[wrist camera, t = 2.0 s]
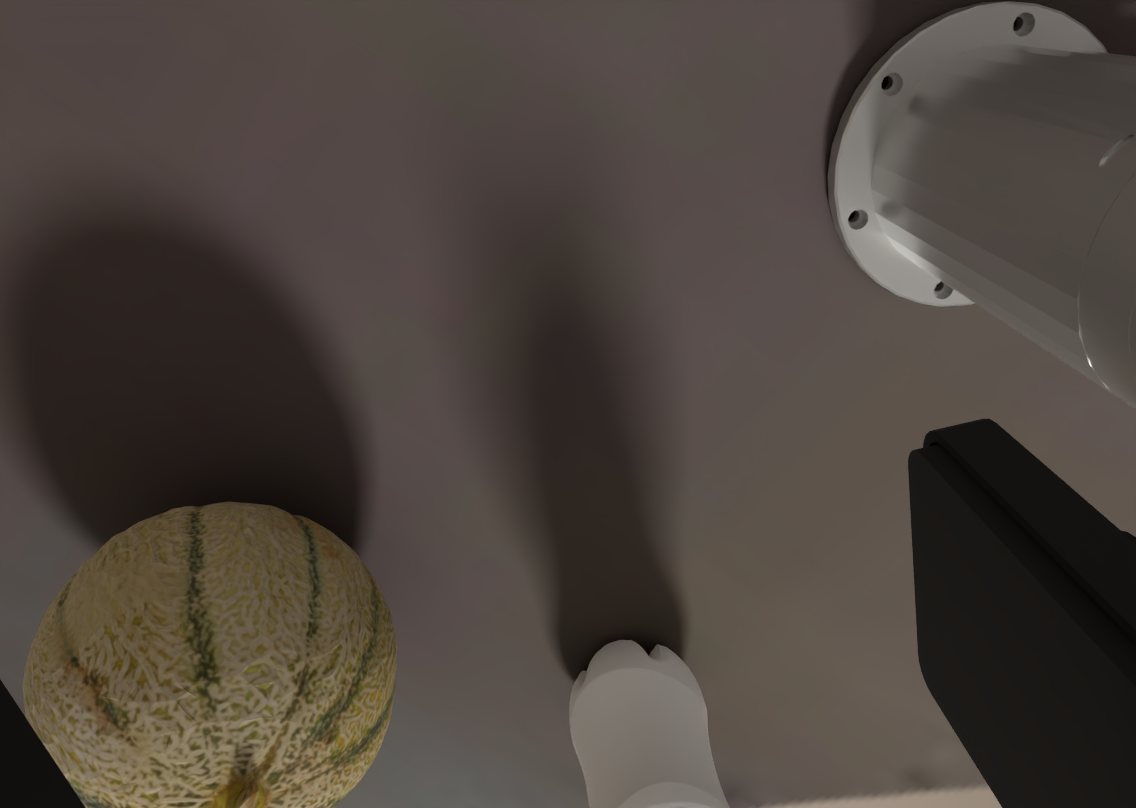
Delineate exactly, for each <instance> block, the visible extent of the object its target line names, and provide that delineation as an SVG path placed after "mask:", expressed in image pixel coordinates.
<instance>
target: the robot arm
mask: <svg viewBox="0 0 1136 808" xmlns="http://www.w3.org/2000/svg"><path fill="white" fill-rule="evenodd" d="M1016 19H1017V25H1016V27H1015V28H1014V29H1013V24H1014V21H1015V20H1016ZM886 76H887V77H888V84H887V86H886V87H885V88H883V89H882V88H881V84H882V81H883V79H884V77H886ZM828 196H829V206H830V210H831V214H832V218H833V222H834V226H835V229H836V231H837V233H838V235H839V237H840V240H841V242H842V244H843V246H844V248H845V250H846V251H847V253H848V254H849V255H850V256H851V258H852V259H853V260H854V261H855V263H856V264H857V265H858V266H859V268H860V269H861V270H862V271H864V272H865V273H866V274H867V275H868V276H870V277H871V278H872V279H873V280H874V281H875V282H877V283H878V284H880V285H881V286H883V287H885V288H886V289H888V290H889V291H891V292H893V293H894V294H896V295H898V296H901V297H904V298H906V299H909V300H912V301H915V302H918V303H922V304H928V305H935V306H958V305H971V304H977V305H978V306H980V307H981V308H983V309H984V310H986V311H987V312H989V313H990V314H992V315H993V316H995V317H996V318H998V319H999V320H1001V321H1002V322H1004V323H1006V324H1007V325H1009V326H1010V327H1012V328H1013V329H1015V330H1016V331H1018V332H1019V333H1021V334H1022V335H1024V336H1025V337H1027V338H1028V339H1030V340H1031V341H1033V342H1034V343H1036V344H1037V345H1039V346H1040V347H1042V348H1044V349H1045V350H1047V351H1048V352H1050V353H1051V354H1053V355H1054V356H1056V357H1057V358H1059V359H1060V360H1062V361H1063V362H1065V363H1066V364H1068V365H1069V366H1071V367H1072V368H1074V369H1075V370H1077V371H1079V372H1080V373H1082V374H1083V375H1085V376H1086V377H1088V378H1089V379H1091V380H1092V381H1094V382H1095V383H1097V384H1098V385H1100V386H1101V387H1103V388H1104V389H1106V390H1107V391H1109V392H1110V393H1112V394H1113V395H1115V396H1117V397H1118V398H1120V399H1121V400H1123V401H1124V402H1126V403H1127V404H1129V405H1131V406H1132V407H1134V408H1135V409H1136V56H1128V55H1119V54H1111V53H1108V52H1107V50H1106V48H1105V47H1104V45H1103V44H1102V43H1101V42H1100V41H1099V40H1098V39H1097V38H1096V36H1095V35H1094V34H1093V33H1092V32H1091V31H1090V30H1089V29H1088V28H1087V27H1086V26H1085V25H1083V24H1081V23H1080V22H1078V21H1077V20H1075V19H1073V18H1072V17H1070V16H1069V15H1067V14H1065V13H1064V12H1062V11H1058V10H1055V9H1052V8H1049V7H1046V6H1043V5H1039V4H1036V3H1025V2H1014V1H1005V2H982V3H978V4H974V5H970V6H966V7H962V8H958V9H953V10H951V11H949V12H947V13H945V14H942V15H940V16H938V17H936V18H934V19H932V20H929V21H927V22H925V23H923V24H922V25H921V26H919V27H918V28H916V29H915V30H913V31H912V32H910V33H909V34H908V35H906V36H905V37H903V38H902V39H900V40H899V41H898V42H897V43H896V44H895V45H894V46H892V47H891V48H890V49H889V50H888V51H887V52H886V53H885V54H884V55H883V56H882V57H881V58H880V59H879V60H878V61H877V62H876V63H875V64H874V65H873V67H872V68H871V69H870V71H869V72H868V74H867V75H866V76H865V78H864V79H863V80H862V82H861V83H860V84H859V86H858V87H857V88H856V90H855V92H854V94H853V96H852V97H851V99H850V101H849V103H848V105H847V107H846V109H845V111H844V113H843V115H842V117H841V119H840V122H839V126H838V129H837V132H836V135H835V138H834V141H833V144H832V148H831V155H830V162H829V169H828ZM853 211H855V216H854V218H853V219H851V220H848V218H849V216H850V214H851V213H852V212H853ZM938 283H939V285H938V286H937V287H936V285H937V284H938ZM935 287H936V288H935ZM908 471H909V490H910V509H911V528H912V547H913V566H914V585H915V604H916V623H917V642H918V657H919V663H920V667H921V671H922V674H923V677H924V680H925V682H926V684H927V687H928V689H929V691H930V692H931V694H932V696H933V697H934V699H935V701H936V702H937V704H938V705H939V707H940V709H941V710H942V712H943V713H944V715H945V717H946V718H947V720H948V721H949V723H950V725H951V726H952V728H953V729H954V731H955V733H956V734H957V736H958V737H959V739H960V741H961V742H962V744H963V745H964V747H965V749H966V750H967V752H968V753H969V755H970V757H971V758H972V760H973V761H974V763H975V765H976V766H977V768H978V769H979V771H980V773H981V774H982V776H983V777H984V779H985V781H986V782H987V784H988V785H989V787H990V789H991V790H992V792H993V793H994V795H995V796H996V798H997V800H998V801H999V803H1000V804H1001V806H1002V808H1136V537H1134V536H1133V535H1131V534H1130V533H1128V532H1124V531H1121V530H1119V529H1118V528H1117V527H1116V526H1115V525H1114V524H1112V523H1111V522H1110V521H1109V520H1108V519H1107V518H1106V517H1104V516H1103V515H1102V514H1101V513H1100V512H1099V511H1097V510H1096V509H1095V508H1094V507H1093V506H1092V505H1090V504H1089V503H1088V502H1087V501H1086V500H1085V499H1084V498H1082V497H1081V496H1080V495H1079V494H1078V493H1077V492H1075V491H1074V490H1073V489H1072V488H1071V487H1070V486H1069V485H1067V484H1066V483H1065V482H1064V481H1063V480H1062V479H1060V478H1059V477H1058V476H1057V475H1056V474H1055V473H1054V472H1052V471H1051V470H1050V469H1049V468H1048V467H1047V466H1045V465H1044V464H1043V463H1042V462H1041V461H1040V460H1038V459H1037V458H1036V457H1035V456H1034V455H1033V454H1032V453H1030V452H1029V451H1028V450H1027V449H1026V448H1025V447H1023V446H1022V445H1021V444H1020V443H1019V442H1018V441H1017V440H1015V439H1014V438H1013V437H1012V436H1011V435H1010V434H1008V433H1007V432H1006V431H1005V430H1004V429H1003V428H1001V427H1000V426H999V425H998V424H997V423H995V422H994V421H992V420H990V419H980V420H976V421H972V422H967V423H963V424H959V425H954V426H950V427H946V428H941V429H937V430H933V431H929V432H928V433H927V434H926V436H925V439H924V443H923V448H921V449H916V450H913V451H912V452H911V453H910V455H909V458H908ZM0 808H86V807H85V806H84V804H83V803H82V801H81V800H80V798H79V797H78V795H77V794H76V792H75V791H74V789H73V788H72V786H71V785H70V783H69V782H68V780H67V779H66V777H65V776H64V774H63V773H62V771H61V770H60V768H59V767H58V765H57V764H56V762H55V761H54V759H53V758H52V756H51V755H50V753H49V752H48V750H47V749H46V747H45V746H44V744H43V743H42V741H41V740H40V738H39V737H38V735H37V734H36V732H35V731H34V729H33V728H32V726H31V725H30V723H29V722H28V720H27V719H26V717H25V716H24V714H23V713H22V711H21V710H20V708H19V707H18V705H17V704H16V702H15V701H14V699H13V698H12V696H11V695H10V693H9V692H8V690H7V689H6V687H5V686H4V684H3V683H2V681H1V680H0Z"/></svg>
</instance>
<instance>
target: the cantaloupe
mask: <svg viewBox="0 0 1136 808" xmlns="http://www.w3.org/2000/svg"><path fill="white" fill-rule="evenodd" d="M396 658H397V645H396V638H395V633H394V628H393V624H392V620H391V614H390V611H389V609H388V606H387V603H386V601H385V598H384V596H383V593H382V591H381V589H380V587H379V585H378V583H377V582H376V580H375V579H374V578H373V576H372V575H371V574H370V572H369V571H368V569H367V568H366V566H365V565H364V564H363V562H362V561H361V559H360V558H359V556H358V555H357V553H356V552H355V551H354V550H353V549H352V548H350V547H349V546H348V545H347V544H346V543H345V542H343V541H342V540H341V539H340V538H338V537H337V536H336V535H335V534H333V533H332V532H331V531H330V530H328V529H326V528H324V527H322V526H321V525H319V524H317V523H315V522H313V521H312V520H310V519H308V518H306V517H302V516H298V515H292V514H290V513H288V512H286V511H284V510H282V509H279V508H277V507H274V506H272V505H262V504H253V503H239V502H222V503H215V504H210V505H205V506H201V507H195V506H184V507H182V508H175V509H171V510H169V511H167V512H165V513H162V514H159V515H156V516H153V517H151V518H147V519H145V520H143V521H140V522H137V523H136V524H134V525H133V526H131V527H130V528H128V529H127V530H126V531H123V532H121V533H119V534H117V535H115V536H113V537H112V538H111V539H110V540H109V541H107V542H106V543H105V544H104V545H103V546H102V547H101V548H100V549H99V550H98V551H97V552H96V553H95V554H94V555H93V556H91V557H90V558H89V559H88V560H86V561H85V562H84V563H83V564H82V565H81V566H80V567H79V569H78V571H77V573H76V574H75V575H74V576H73V577H72V578H71V579H70V580H69V581H68V582H67V583H66V584H65V585H64V586H63V587H62V589H61V590H60V591H59V593H58V595H57V597H56V598H55V599H54V600H53V601H52V602H51V604H50V606H49V607H48V609H47V611H46V613H45V615H44V617H43V619H42V622H41V624H40V626H39V629H38V631H37V635H36V638H35V639H34V641H33V643H32V645H31V648H30V652H29V655H28V658H27V661H26V665H25V676H24V680H23V685H22V686H23V694H24V703H23V704H24V706H25V713H26V719H27V720H28V722H29V723H30V725H31V726H32V728H33V729H34V731H35V732H36V734H37V735H38V737H39V738H40V740H41V741H42V743H43V744H44V746H45V747H46V749H47V750H48V752H49V753H50V755H51V756H52V758H53V759H54V761H55V762H56V764H57V765H58V767H59V768H60V770H61V771H62V773H63V774H64V776H65V777H66V779H67V780H68V782H69V783H70V785H71V786H72V788H73V789H74V791H75V792H76V794H77V795H78V797H79V798H80V800H81V801H82V803H83V804H84V806H85V807H86V808H336V806H337V805H338V804H339V803H340V802H341V800H342V799H343V798H344V797H345V796H346V795H347V794H348V793H349V792H350V791H351V790H352V789H353V788H354V786H355V785H356V784H357V783H358V782H359V781H360V780H361V778H362V777H363V776H364V774H365V772H366V771H367V770H368V768H369V767H370V766H371V764H372V763H373V761H374V759H375V757H376V755H377V753H378V751H379V749H380V746H381V744H382V741H383V739H384V736H385V733H386V730H387V728H388V725H389V722H390V717H391V712H392V706H393V700H394V693H395V677H396Z"/></svg>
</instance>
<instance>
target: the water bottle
mask: <svg viewBox="0 0 1136 808" xmlns="http://www.w3.org/2000/svg"><path fill="white" fill-rule="evenodd" d="M569 716H570V730H571V737H572V741H573V745H574V748H575V751H576V753H577V756H578V758H579V761H580V764H581V767H582V771H583V774H584V778H585V782H586V787H587V794H588V800H589V808H730V807H729V805H728V803H727V801H726V799H725V796H724V794H723V791H722V789H721V786H720V783H719V780H718V777H717V774H716V770H715V767H714V763H713V759H712V755H711V749H710V743H709V737H708V727H707V709H706V705H705V702H704V699H703V696H702V693H701V690H700V688H699V685H698V683H697V681H696V679H695V678H694V676H693V674H692V673H691V671H690V669H689V668H688V667H687V665H686V664H685V663H684V662H683V661H682V660H681V659H680V658H679V657H678V656H677V655H676V654H675V653H674V652H672V651H671V650H670V649H668V648H667V647H665V646H661V645H658V644H657V645H656V646H655V647H654V649H653V650H652V651H651V653H650V655H649V656H648V654H647V653H646V652H645V650H644V649H643V648H642V647H641V646H640V645H639V644H637V643H636V642H634V641H632V640H618V641H614V642H611V643H609V644H606V645H605V646H604V647H602V648H601V649H600V650H599V651H598V652H597V653H596V654H595V655H594V657H593V658H592V660H591V662H590V664H589V666H588V669H587V671H581V673H580V674H579V676H578V678H577V679H576V681H575V682H574V685H573V688H572V692H571V697H570V704H569Z"/></svg>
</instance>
